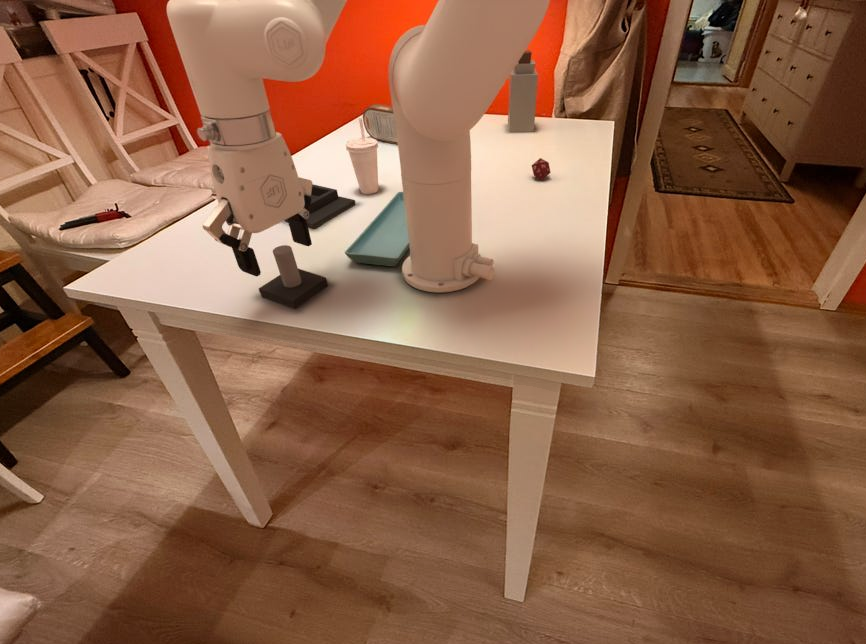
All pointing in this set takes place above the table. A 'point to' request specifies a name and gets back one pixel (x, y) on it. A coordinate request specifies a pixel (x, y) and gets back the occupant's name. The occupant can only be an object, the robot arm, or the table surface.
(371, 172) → the smoothie
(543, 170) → the dice
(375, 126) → the tin
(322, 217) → the base pad
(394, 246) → the teal serving tray
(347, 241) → the table surface
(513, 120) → the perfume bottle
